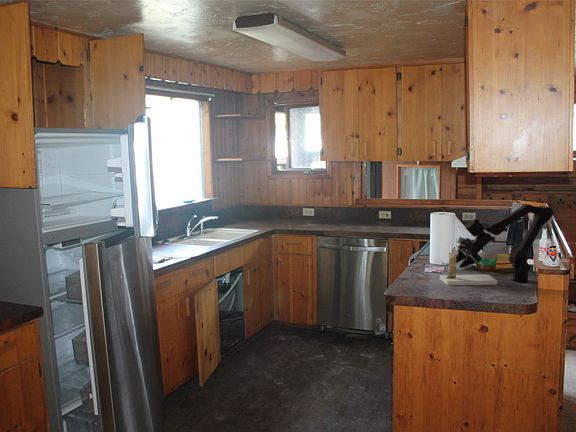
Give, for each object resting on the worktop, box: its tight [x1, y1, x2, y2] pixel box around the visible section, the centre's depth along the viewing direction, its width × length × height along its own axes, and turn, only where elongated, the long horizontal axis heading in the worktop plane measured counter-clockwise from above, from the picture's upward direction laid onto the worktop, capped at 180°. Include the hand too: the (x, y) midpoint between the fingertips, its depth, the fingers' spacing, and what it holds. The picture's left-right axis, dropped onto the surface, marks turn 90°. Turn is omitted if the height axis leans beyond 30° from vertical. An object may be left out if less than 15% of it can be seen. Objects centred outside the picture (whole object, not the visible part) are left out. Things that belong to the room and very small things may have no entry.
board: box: [439, 274, 498, 286], centre depth 260 cm, size 24×12×2 cm, turn 91°
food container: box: [475, 251, 500, 273], centre depth 282 cm, size 12×6×10 cm, turn 73°
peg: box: [447, 253, 457, 279], centre depth 259 cm, size 4×4×14 cm
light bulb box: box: [453, 247, 473, 270], centre depth 291 cm, size 11×7×11 cm, turn 136°
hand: (456, 265), depth 259 cm, fingers open, 9 cm apart
